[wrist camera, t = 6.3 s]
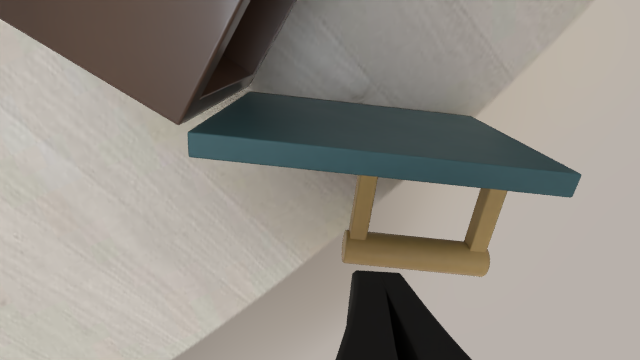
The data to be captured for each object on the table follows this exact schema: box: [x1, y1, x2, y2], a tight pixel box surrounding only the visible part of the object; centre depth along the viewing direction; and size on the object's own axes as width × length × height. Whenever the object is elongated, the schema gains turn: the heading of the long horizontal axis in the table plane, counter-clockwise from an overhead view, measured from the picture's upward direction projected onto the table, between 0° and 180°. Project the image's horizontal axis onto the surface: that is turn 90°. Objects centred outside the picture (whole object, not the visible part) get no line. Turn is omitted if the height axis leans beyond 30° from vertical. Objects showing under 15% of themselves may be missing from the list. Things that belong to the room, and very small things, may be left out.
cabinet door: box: [188, 92, 581, 277], centre depth 15 cm, size 6×12×8 cm, turn 84°
